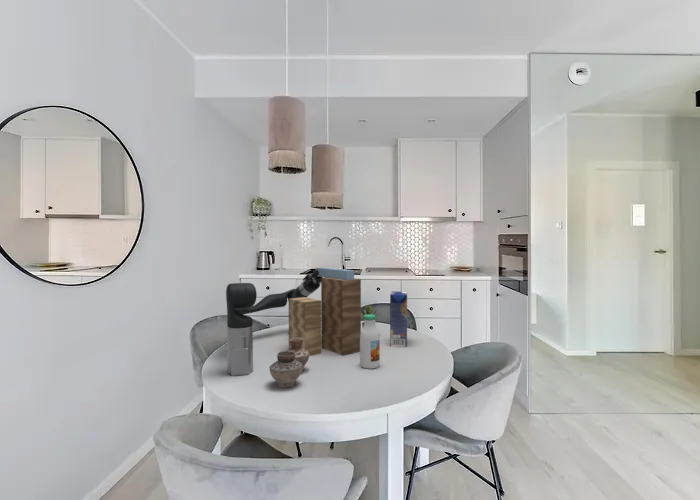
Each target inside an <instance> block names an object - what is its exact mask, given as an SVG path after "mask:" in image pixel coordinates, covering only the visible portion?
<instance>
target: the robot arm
mask: <svg viewBox="0 0 700 500" xmlns="http://www.w3.org/2000/svg"><path fill="white" fill-rule="evenodd" d="M318 275H319V271H318V270H316V269H315V271H313V273H308V274H306V275H305V276H304V277H303V278H302V282H301V283H300V284H299V285H298V286H297V287H295V288H291V289H289V290H287V291H285V292H281V293H272V294H268V295H265V297H263V298H262V299H261V300H259V302H256V301H257V296H258V295H257V289H256V287H255V285H254V284H253V283H251V282H236V283H232V282H231V283H228V284H227V286H226V291H225V298H226V299H225V300H226V313H227V316H226V317H227V318H226V322H227V323H226V328H227V329H226V332H227V333H226V334H227V335H226V337H227V338H226V339H227V343H226V345H227V349H226V352H227V353H226V354H227V357H226V358H227V374H229V375H230V376H231V377H232V376H244V375H249V374H250V373H252V372H253V371H254V343H253V342H254V337H253V336H254V334H253V333H254V332H253V331H254V325H253V324H254V322H253V318H252V317H251V316H249V315H247V314H253V313H257V312H260V311H261V312H262V311H265V310H270V309H277V308H278V309H279V308H284V307H286V306H287V304H288V303H289V299H290V298H299V297H306V298H309V296H310V295H312V294H313V293H314V292H316V291H317V290H318V289H319V288H320V286H321V278H326V277H319V276H318Z"/></svg>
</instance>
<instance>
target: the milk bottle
mask: <svg viewBox="0 0 700 500" xmlns="http://www.w3.org/2000/svg"><path fill="white" fill-rule="evenodd" d="M375 315H376V314H374V315H373V313H372V314H366V315H364V316H363V318H364V319H363V321H364V322H365V323H364V327H363V328H361V335H360V352H359V366H360V367H361V368H364V369H371V370H372V369H378V368H379V367H380V363H381V361H380V357H381V354H380V351H381V349H380V347H381V346H380V344H381V342H380V332H379V330H378V328H377V326H376V320H377V317H376V316H377V315H376V316H375ZM375 319H376V320H375Z"/></svg>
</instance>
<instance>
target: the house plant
mask: <svg viewBox="0 0 700 500" xmlns="http://www.w3.org/2000/svg"><path fill="white" fill-rule="evenodd" d="M364 306H365V311H364V310H362V308H361V321H364V315H367V314H372V315H375V316H377V314H376V313H377V312H378V310H380V309H379V308H377V309H376V310H375V312H373V306H372V304H369V305H366V304H364ZM375 320H377V318H376V319H375ZM364 323H365V321H364V322H361V329H363V327H364Z"/></svg>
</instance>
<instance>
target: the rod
mask: <svg viewBox="0 0 700 500" xmlns="http://www.w3.org/2000/svg"><path fill="white" fill-rule="evenodd" d="M316 270H318V271H319V275H318V276H319V277H323V278H324V277H326V278H334V279H342V280H354V279H355V269H354V270H353V269H343V268H342V269H341V268H334V267H332V268H331V267H321V266H320V267H315V271H316Z"/></svg>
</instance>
